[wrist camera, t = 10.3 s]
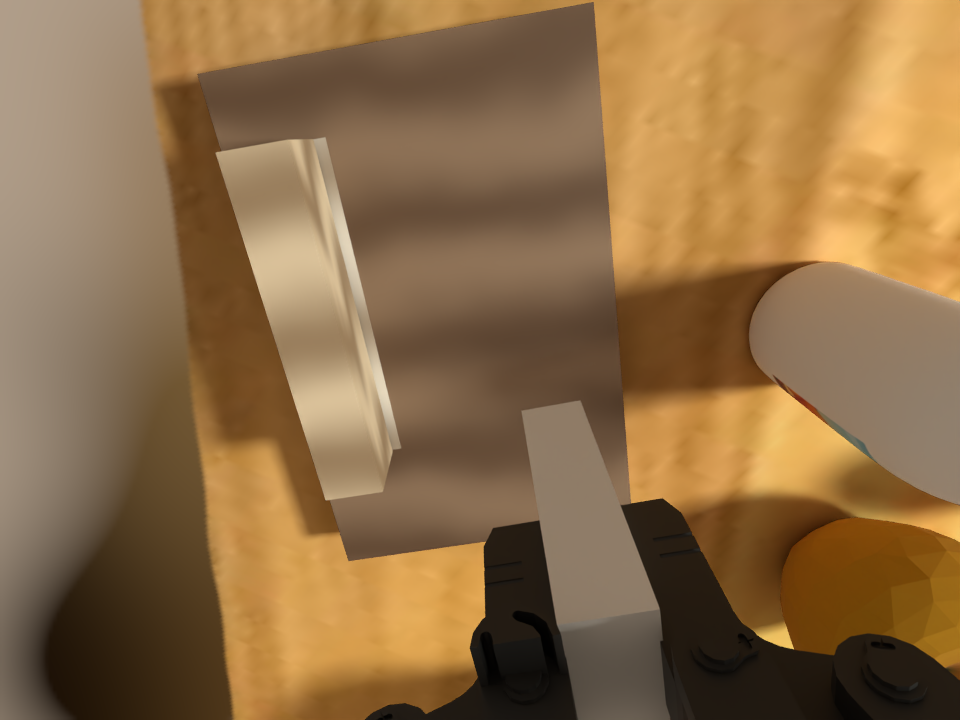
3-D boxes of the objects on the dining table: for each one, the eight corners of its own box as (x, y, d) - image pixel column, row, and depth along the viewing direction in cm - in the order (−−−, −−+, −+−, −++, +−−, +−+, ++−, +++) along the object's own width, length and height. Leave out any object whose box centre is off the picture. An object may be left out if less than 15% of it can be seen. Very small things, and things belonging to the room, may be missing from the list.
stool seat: (223, 80, 28) (196, 73, 25) (580, 15, 28) (594, 1, 25) (357, 530, 39) (348, 562, 36) (620, 491, 38) (632, 521, 35)
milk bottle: (718, 325, 34) (1025, 558, 15) (828, 230, 32) (1338, 364, 13) (791, 405, 36) (1141, 697, 17) (899, 321, 34) (1426, 548, 15)
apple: (800, 457, 37) (932, 586, 27) (968, 502, 39) (1157, 640, 28) (716, 603, 42) (801, 763, 31) (870, 637, 43) (1001, 801, 33)
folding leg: (250, 150, 27) (215, 152, 23) (313, 139, 26) (287, 139, 23) (341, 459, 33) (325, 500, 29) (392, 451, 33) (382, 491, 29)
